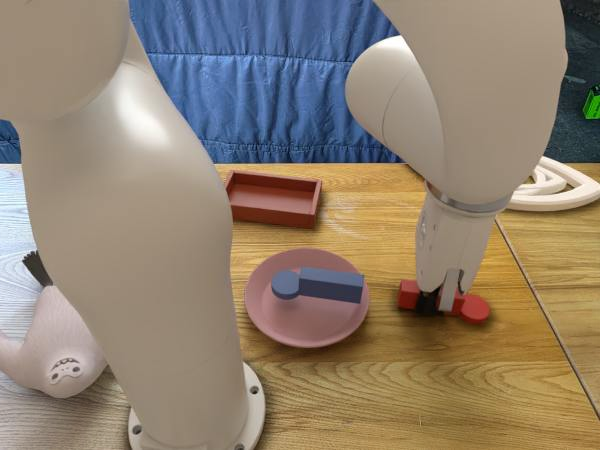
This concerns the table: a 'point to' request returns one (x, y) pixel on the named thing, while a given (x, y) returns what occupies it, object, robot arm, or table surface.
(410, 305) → the red spoon
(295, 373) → the table surface
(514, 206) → the decorative sculpture
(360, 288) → the blue spoon
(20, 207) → the table surface
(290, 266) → the plate
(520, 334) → the table surface
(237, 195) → the tray
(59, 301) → the yeti figurine
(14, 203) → the table surface
